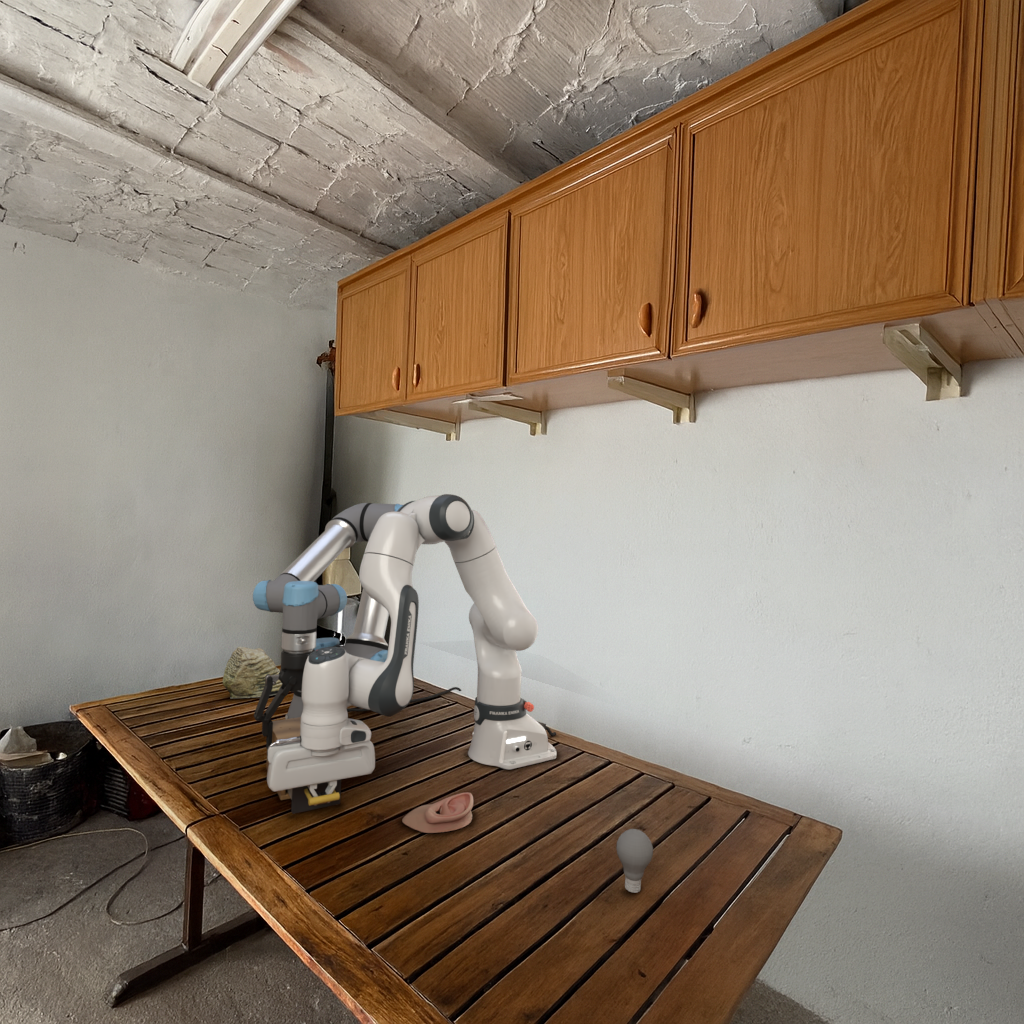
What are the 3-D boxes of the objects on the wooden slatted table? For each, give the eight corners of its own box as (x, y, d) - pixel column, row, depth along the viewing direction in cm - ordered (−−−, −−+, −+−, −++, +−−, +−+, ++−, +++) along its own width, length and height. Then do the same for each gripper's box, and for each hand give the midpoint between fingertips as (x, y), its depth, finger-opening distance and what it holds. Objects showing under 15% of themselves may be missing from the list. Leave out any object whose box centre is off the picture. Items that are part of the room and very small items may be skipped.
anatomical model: (396, 808, 122) (417, 782, 133) (395, 828, 122) (416, 801, 133) (463, 818, 119) (478, 791, 130) (462, 839, 119) (477, 810, 131)
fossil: (218, 695, 195) (220, 647, 195) (278, 685, 208) (279, 640, 207) (228, 703, 189) (230, 653, 188) (289, 692, 201) (290, 645, 201)
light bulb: (610, 879, 108) (613, 822, 108) (644, 879, 109) (647, 822, 109) (619, 902, 102) (622, 840, 102) (655, 901, 103) (658, 840, 103)
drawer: (348, 816, 124) (350, 770, 124) (298, 827, 119) (300, 779, 119) (321, 773, 143) (322, 733, 142) (277, 781, 138) (278, 740, 138)
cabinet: (332, 790, 137) (333, 739, 137) (280, 800, 131) (282, 747, 131) (313, 760, 151) (315, 715, 151) (266, 768, 146) (268, 721, 146)
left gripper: (246, 658, 135) (243, 760, 136) (353, 649, 147) (350, 743, 147) (241, 650, 142) (238, 747, 142) (344, 642, 154) (341, 732, 154)
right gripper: (270, 747, 115) (267, 822, 116) (379, 730, 126) (376, 799, 126) (264, 735, 121) (262, 806, 121) (369, 720, 131) (367, 786, 131)
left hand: (295, 745), depth 145 cm, fingers closed on cabinet, 11 cm apart
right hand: (321, 803), depth 124 cm, fingers closed, pressing on drawer
